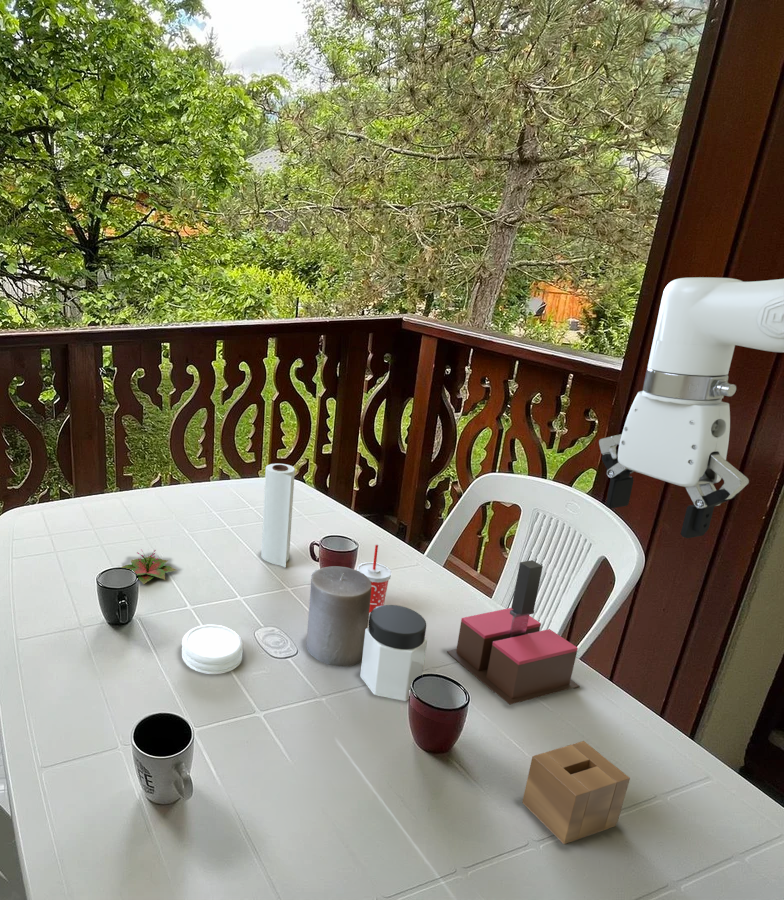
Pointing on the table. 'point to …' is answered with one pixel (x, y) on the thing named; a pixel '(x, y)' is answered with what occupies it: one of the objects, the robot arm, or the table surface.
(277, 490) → the paper towel roll
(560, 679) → the cake
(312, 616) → the pillar candle
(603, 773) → the knife block
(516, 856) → the table surface
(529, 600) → the knife
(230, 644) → the coaster
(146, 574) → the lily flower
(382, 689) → the jar
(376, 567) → the beverage cup
